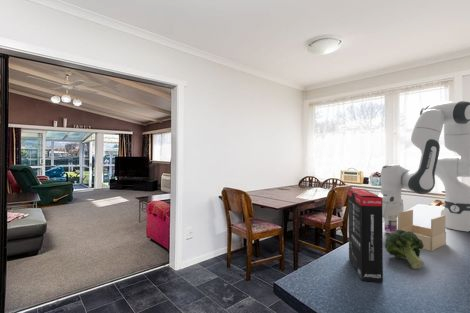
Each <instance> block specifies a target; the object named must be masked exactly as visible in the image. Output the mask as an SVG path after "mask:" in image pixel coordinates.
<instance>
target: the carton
mask: <svg viewBox="0 0 470 313" xmlns="http://www.w3.org/2000/svg"><path fill="white" fill-rule="evenodd" d="M445 223H446V215H443V216H441V215H440V216H437V217H434V218H431V219H430V226H431V227H430V228H429V227H427V226H426V227H425V226H421V225H416V224H414V210H413V209H409V210H405V211H403V212H400V213H398V217H397V230H400V229H401V230H404V231H406V232H408V231H411V232H413V233H414V234H415V235H416V236H417V237H418V238H419V239H420V240H422V242H423V245H424V247H423V248H422V249H421V250H426V251H429V252H430V251H431V252H433V251H435V250H437V249H439V248H441V247H443V246H445V245H446V244H447V232H446V227H445Z"/></svg>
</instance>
